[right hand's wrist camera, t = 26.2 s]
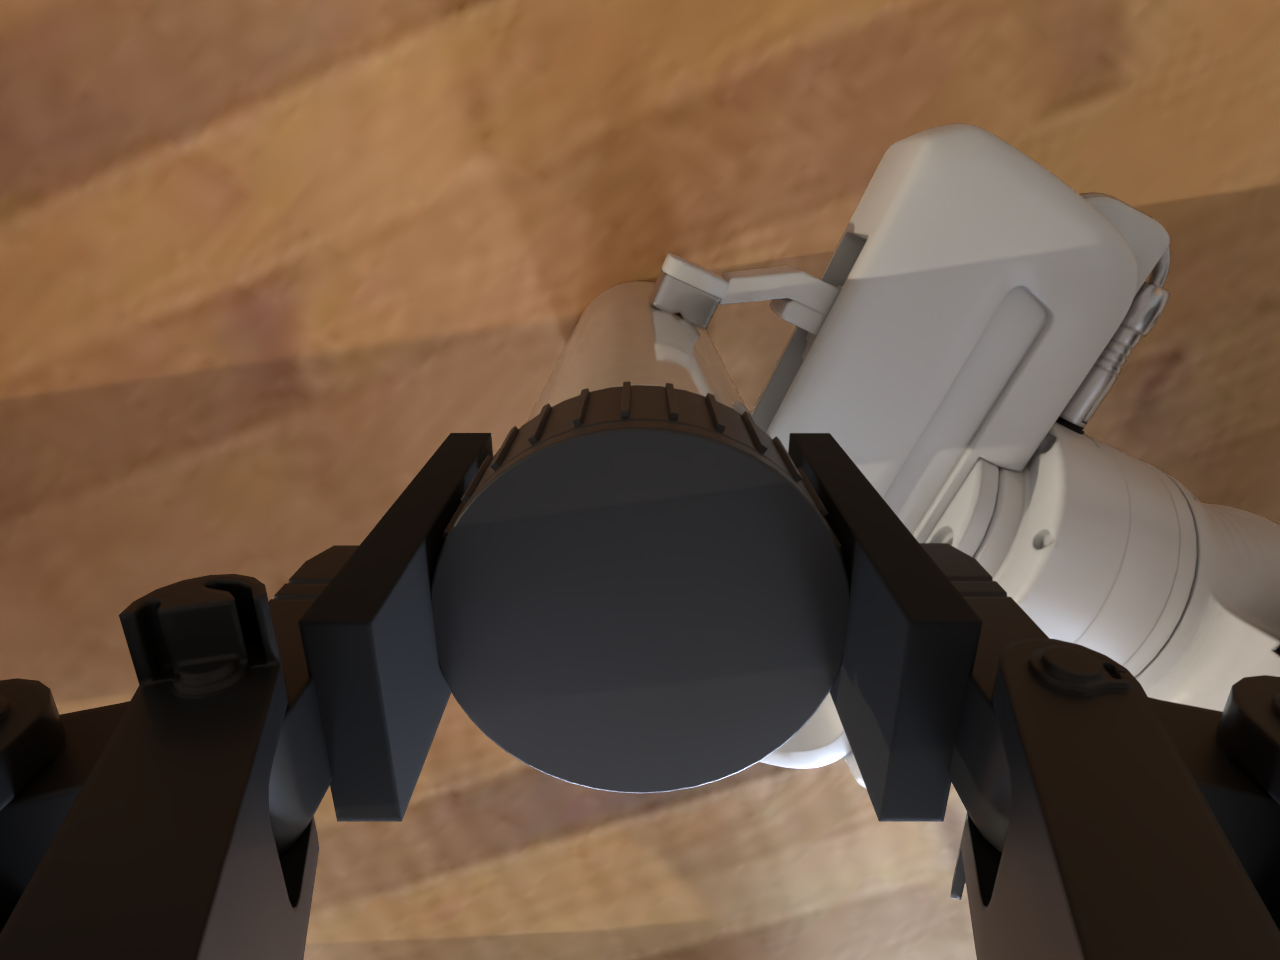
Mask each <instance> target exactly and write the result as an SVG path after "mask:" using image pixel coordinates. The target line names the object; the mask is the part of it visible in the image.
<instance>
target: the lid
mask: <svg viewBox="0 0 1280 960" xmlns="http://www.w3.org/2000/svg"><path fill="white" fill-rule="evenodd" d="M461 500H462V502H461V503H460V505H459V507H458V509H457V510H456V512H455V514H454V515H453V517H452V519H451V520H450V522H449V524H448V525H447V527H446V529H445V530H444V533H443V535H442V538H444V539H445V541H444V544H443V546H442V549H441V551H440V554H439V556H438V558H437V561H436V565H435V569H434V574H433V578H432V582H431V603H432V612H433V621H434V629H435V638H436V646H437V654H438V661H439V666H440V669H441V671H442V674H443V676H444V679H445V681H446V683H447V684H448V686H449V688H450V690H451V692H452V693H453V695H454V697H455V699H456V700H457V702H458V703H459V704H460V706H461V707H462V708H463V710H464V711H465V713H466V714H467V715H468V717H469V718H470V719H471V720H472V721H473V722H474V723H475V724H476V725H477V726H478V727H479V728H480V730H481V731H482V732H483V733H484V734H485V735H486V736H487V737H489V738H490V739H491V740H492V741H494V742H495V743H496V744H497V745H498V746H500V747H501V748H502V749H503V750H505V751H506V752H508V753H509V754H511V755H512V756H514V757H515V758H517V759H519V760H520V761H522V762H523V763H525V764H527V765H529V766H531V767H533V768H535V769H537V770H539V771H541V772H543V773H545V774H547V775H550V776H553V777H555V778H558V779H561V780H564V781H567V782H569V783H573V784H577V785H581V786H585V787H589V788H593V789H599V790H606V791H614V792H624V793H655V792H669V791H675V790H681V789H687V788H692V787H697V786H700V785H704V784H707V783H711V782H714V781H718V780H720V779H723V778H725V777H728V776H730V775H733V774H735V773H738V772H740V771H742V770H744V769H746V768H748V767H750V766H752V765H753V764H755V763H757V762H759V761H761V760H763V759H764V758H765V757H767V756H768V755H770V754H771V753H773V752H774V751H776V750H777V749H778V748H780V747H781V746H783V745H784V744H785V743H786V742H787V741H788V740H789V739H791V738H792V737H793V736H794V735H795V734H796V733H797V732H798V731H800V730H801V728H802V727H803V726H804V725H805V724H806V723H807V722H808V721H809V719H810V718H811V717H812V716H813V715H814V714H815V713H816V711H817V710H818V708H819V707H820V705H821V704H822V702H823V701H824V699H825V698H826V696H827V695H828V693H829V692H830V690H831V688H832V686H833V684H834V682H835V680H836V677H837V675H838V673H839V671H840V668H841V665H842V660H843V653H844V644H845V636H846V627H847V619H848V611H849V602H850V585H849V578H848V574H847V570H846V567H845V564H844V560H843V557H842V553H843V548H842V545H841V544H840V542H839V540H838V539H837V537H836V535H835V533H834V532H833V530H832V528H831V527H830V525H829V523H828V521H827V520H826V518H825V515H827V514H828V512H827V510H826V509H825V507H824V505H823V504H822V502H821V500H820V499H819V497H818V495H817V494H816V492H815V490H814V489H813V487H812V485H811V484H810V482H809V480H808V479H807V477H806V475H805V474H804V472H803V470H802V469H801V467H799V468H796V466H795V464H794V463H793V461H792V459H791V457H790V456H789V454H788V452H787V451H786V449H785V447H784V446H783V444H782V442H781V440H780V439H779V438H778V437H777V436H776V437H775V438H774V439H772V438H771V437H770V436H769V435H768V434H767V433H765V432H764V431H763V430H762V429H761V428H760V427H758V426H757V425H756V424H755V422H754V421H753V419H752V417H751V415H750V414H749V413H748V412H746V411H745V412H744V413H743V414H740V413H739V412H737V411H735V410H734V409H732V408H731V407H728V406H726V405H724V404H722V403H720V402H717V401H716V399H715V397H714V395H712V394H710V393H707V395H706V397H705V396H702V395H699V394H696V393H692V392H689V391H686V390H681V389H675V388H674V386H673V384H671V383H666V387H663V386H646V385H631V382H630V381H628V382H623V386H620V387H610V388H605V389H601V390H596V391H592V392H589V389H588V388H586V389H583V390H581V393H580V395H579V396H576V397H573V398H570V399H567V400H565V401H562V402H560V403H559V404H557V405H555V406H553V407H551V406H550V404H547V405H545V406H543V408H542V410H541V412H540V414H539V415H537V416H536V417H534V418H533V419H531V420H530V421H529V422H527V423H526V424H524V425H523V426H522V427H521V428H520V429H518V428H517V427H516V426H514V427H513V428H512V429H511V430H510V432H509V434H508V435H507V437H506V439H505V441H504V443H503V444H502V446H501V448H500V449H499V450H498V452H497V453H496V454H495V455H494V457H491V456H490V455H488V456H487V457H486V459H485V460H484V462H483V464H482V465H481V467H480V469H479V470H478V472H477V474H476V475H475V477H474V479H473V480H472V482H471V484H470V485H469V487H468V489H467V490H466V492H465V494H464V495H463V497H462V499H461Z"/></svg>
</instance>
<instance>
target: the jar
mask: <svg viewBox="0 0 1280 960" xmlns="http://www.w3.org/2000/svg"><path fill="white" fill-rule="evenodd" d="M654 285H655V283H654V282H648V281H632V282H626V283H622V284H619V285H616V286H613V287H611V288H609V289H607V290H606V291H604V292H602V293H601V294H600V295H598V296H597V297H596V298H595V299H594V300H593V301H592V302H591V303H590V304H589V305H588V306H587V307H586V309H585V310H584V312H583V313H582V315H581V317H580V318H579V320H578V322H577V324H576V326H575V328H574V330H573V332H572V334H571V336H570V338H569V340H568V342H567V344H566V346H565V348H564V350H563V351H562V353H561V355H560V357H559V359H558V361H557V363H556V365H555V367H554V369H553V371H552V373H551V375H550V377H549V379H548V381H547V383H546V385H545V387H544V389H543V390H542V392H541V394H540V396H539V398H538V400H537V402H536V404H535V406H534V408H533V410H532V412H531V414H530V416H529V418H528V420H527V422H529V421H530V420H531V419H533V418H534V417H536V416H537V415H539V414H540V412H541V410H542V408H543V406H545V405H547V404H550V406H551V407H553V406H555V405H557V404H559V403H560V402H562V401H565V400H567V399H570V398H573V397H576V396H579V395H580V393H581V390H583V389H586V388H588V389H589V392H592V391H596V390H601V389H605V388H610V387H620V386H623V382H628V381H630V382H631V385H646V386H663V387H666V383H671V384H673V386H674V388H675V389H681V390H686V391H689V392H692V393H696V394H699V395H702V396H705V397H706V395H707V393H710V394H712V395H714V397H715V399H716V401H717V402H720V403H722V404H724V405H726V406H728V407H731V408H732V409H734V410H735V411H737V412H739V413H740V414H743V413H744V412H745V411H746V412H748V413H749V411H748V410H747V408H746V406H745V404H744V402H743V400H742V398H741V396H740V394H739V392H738V390H737V388H736V386H735V384H734V382H733V380H732V378H731V377H730V375H729V373H728V371H727V369H726V367H725V365H724V363H723V361H722V359H721V357H720V355H719V353H718V351H717V349H716V347H715V345H714V343H713V342H712V340H711V338H710V336H709V334H708V332H707V330H704V329H702V328H700V327H698V326H695V325H693V324H691V323H689V322H688V321H686V320H684V319H683V317H682V315H681V313H680V312H679V313H673V314H671V313H668V312H665V311H662V310H660V309H658V308H656V307H654V306H653V305H651V304H650V303H649V297H650V294H651V292H652V290H653V287H654ZM749 414H750V413H749ZM527 422H526V423H527Z"/></svg>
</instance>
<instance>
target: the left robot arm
mask: <svg viewBox="0 0 1280 960" xmlns="http://www.w3.org/2000/svg"><path fill="white" fill-rule="evenodd" d="M1169 242H1170V238H1169V235H1168V233H1167V231H1166V230H1165V229H1164V227H1163V226H1162V225H1161V224H1160V223H1158V222H1157V221H1156V220H1154V219H1153V218H1152V217H1151V216H1149V215H1147V214H1145V213H1143V212H1142V211H1140V210H1138V209H1136V208H1134V207H1132V206H1130V205H1128V204H1126V203H1124V202H1123V201H1121V200H1119V199H1117V198H1115V197H1113V196H1110V195H1107V194H1104V193H1094V192H1092V193H1081V194H1078V193H1077V192H1076V191H1075V190H1073V189H1072V188H1071V187H1070V186H1068V185H1067V184H1066V183H1064V182H1063V181H1062V180H1060V179H1059V178H1058V177H1057V176H1055V175H1054V174H1053V173H1051V172H1050V171H1048V170H1047V169H1046V168H1044V167H1043V166H1041V165H1040V164H1039V163H1037V162H1036V161H1034V160H1033V159H1031V158H1030V157H1028V156H1027V155H1025V154H1024V153H1023V152H1021V151H1020V150H1018V149H1016V148H1015V147H1013V146H1012V145H1010V144H1008V143H1007V142H1005V141H1004V140H1002V139H1000V138H999V137H997V136H995V135H993V134H992V133H990V132H988V131H986V130H984V129H982V128H980V127H977V126H974V125H970V124H947V125H942V126H938V127H933V128H930V129H927V130H924V131H921V132H918V133H916V134H913V135H911V136H909V137H906V138H904V139H901V140H899V141H897V142H895V143H894V144H892V145H891V146H890V147H889V148H888V150H887V151H886V152H885V154H884V156H883V158H882V160H881V162H880V164H879V166H878V167H877V169H876V171H875V173H874V175H873V177H872V179H871V181H870V183H869V185H868V187H867V189H866V191H865V193H864V195H863V197H862V199H861V201H860V203H859V204H858V206H857V208H856V210H855V212H854V214H853V216H852V218H851V220H850V222H849V224H848V226H847V228H846V230H845V232H844V234H843V236H842V238H841V240H840V241H839V243H838V245H837V247H836V249H835V251H834V253H833V255H832V257H831V259H830V261H829V263H828V265H827V267H826V269H825V271H824V273H823V275H822V277H821V278H820V279H818V278H816V277H814V276H811V275H809V274H807V273H805V272H803V271H801V270H798V269H796V268H794V267H791V266H789V265H783V266H775V267H766V268H757V269H749V270H740V271H732V272H724V274H723V275H722V276H721V275H718V274H716V273H714V272H712V271H710V270H708V269H706V268H703V267H701V266H699V265H697V264H695V263H693V262H690V261H688V260H686V259H684V258H682V257H680V256H677V255H674V254H672V253H669V252H668V254H667V256H666V259H665V261H664V264H663V266H662V268H661V270H660V273H659V275H658V277H657V280H656V282H655V285H654V287H653V290H652V292H651V294H650V297H649V303H650V304H651V305H653V306H654V307H656V308H658V309H660V310H662V311H665V312H668V313H671V314H673V313H679V312H680V313H681V315H682V317H683V319H684V320H686V321H688V322H689V323H691V324H693V325H695V326H698V327H700V328H702V329H704V330H706V328H707V326H708V324H709V322H710V320H711V318H712V316H713V314H714V312H715V310H716V308H717V306H718V304H720V305H722V304H732V303H742V302H752V301H763V300H771V302H770V308H771V310H772V311H774V312H775V313H776V314H777V315H779V316H780V317H781V318H782V319H784V320H786V321H788V322H790V323H792V324H794V325H796V327H795V329H794V331H793V333H792V335H791V337H790V339H789V341H788V343H787V345H786V347H785V349H784V350H783V352H782V354H781V356H780V358H779V360H778V362H777V364H776V366H775V368H774V370H773V372H772V374H771V376H770V378H769V380H768V382H767V384H766V386H765V387H764V389H763V391H762V393H761V395H760V397H759V399H758V401H757V403H756V405H755V407H754V409H753V411H752V413H751V417H752V419H753V421H754V422H755V424H756V425H757V426H758V427H760V428H761V429H762V430H763V431H764V432H765V433H767V434H768V435H769V436H770V437H771V438H772V439H774V438H775V437H776V436H777V437H778V438H779V439H780V440H781V442H782V444H783V446H784V447H785V449H786V451H787V452H788V449H789V436H790V433H830V434H831V435H832V436H833V438H834V439H835V440H836V441H837V442H838V444H839V445H840V446H841V447H842V449H843V450H844V451H845V452H846V454H847V455H848V456H849V457H850V459H851V460H852V461H853V462H854V463H855V465H856V466H857V467H858V468H859V470H860V471H861V472H862V473H863V475H864V476H865V477H866V478H867V479H868V481H869V482H870V483H871V484H872V486H873V487H874V488H875V489H876V491H877V492H878V493H879V494H880V496H881V497H882V498H883V499H884V500H885V502H886V503H887V504H888V505H889V507H890V508H891V509H892V510H893V512H894V513H895V514H896V515H897V516H898V518H899V519H900V520H901V521H902V523H903V524H904V525H905V526H906V528H907V529H908V530H909V531H910V532H911V534H912V535H913V536H914V537H915V539H916V540H917V541H918V542H919V543H948V544H949V545H951V546H953V547H955V548H957V549H958V550H960V551H962V552H964V553H966V554H967V555H969V556H971V557H973V558H975V559H976V560H977V561H978V562H979V563H980V564H981V565H982V567H983V568H984V569H985V570H986V571H987V572H988V573H989V574H990V575H991V576H992V577H993V581H996V582H997V583H998V584H999V585H1000V586H1001V587H1002V588H1003V589H1004V590H1005V591H1006V592H1007V597H1011V598H1012V599H1013V600H1014V601H1015V602H1016V603H1017V604H1018V605H1019V606H1020V607H1021V608H1022V609H1023V611H1024V612H1025V613H1026V614H1027V615H1028V616H1029V617H1030V618H1031V619H1032V620H1033V621H1034V622H1035V623H1036V624H1037V626H1038V627H1039V628H1040V629H1041V630H1042V631H1043V632H1044V633H1045V634H1046V635H1047V636H1048V637H1049V638H1050V639H1057V640H1061V641H1065V642H1070V643H1074V644H1078V645H1082V646H1084V647H1087V648H1089V649H1092V650H1094V651H1096V652H1099V653H1101V654H1104V655H1106V656H1108V657H1109V658H1111V659H1112V660H1114V661H1116V662H1117V663H1119V664H1120V665H1122V666H1123V667H1125V668H1126V669H1128V670H1129V672H1130V673H1131V674H1132V675H1133V676H1134V677H1135V678H1136V679H1137V681H1138V682H1139V683H1140V684H1141V686H1142V687H1143V689H1144V691H1145V693H1146V695H1147V696H1148V697H1150V698H1154V699H1158V700H1163V701H1169V702H1174V703H1179V704H1185V705H1190V706H1195V707H1200V708H1206V709H1211V710H1216V711H1222V712H1223V710H1224V708H1225V705H1226V702H1227V699H1228V696H1229V693H1230V691H1231V688H1232V685H1234V684H1235V683H1237V682H1238V681H1239V680H1241V679H1242V678H1244V677H1253V676H1262V675H1268V676H1276V677H1280V525H1279V524H1276V523H1274V522H1272V521H1270V520H1268V519H1266V518H1264V517H1261V516H1259V515H1256V514H1254V513H1251V512H1249V511H1245V510H1242V509H1238V508H1234V507H1230V506H1224V505H1217V504H1207V503H1202V502H1200V501H1199V500H1198V499H1197V498H1196V497H1195V496H1194V494H1192V493H1191V492H1190V491H1189V490H1188V489H1187V488H1186V487H1185V486H1183V485H1182V484H1181V483H1180V482H1179V481H1178V480H1177V479H1175V478H1173V477H1172V476H1170V475H1169V474H1167V473H1165V472H1164V471H1162V470H1161V469H1159V468H1157V467H1155V466H1152V465H1150V464H1148V463H1146V462H1144V461H1142V460H1140V459H1138V458H1135V457H1133V456H1131V455H1129V454H1127V453H1125V452H1123V451H1121V450H1118V449H1116V448H1114V447H1112V446H1110V445H1108V444H1106V443H1103V442H1101V441H1099V440H1097V439H1095V438H1092V437H1090V436H1088V435H1086V434H1084V431H1082V430H1083V428H1084V427H1085V426H1086V424H1087V423H1088V421H1089V420H1090V418H1091V417H1092V415H1093V414H1094V413H1095V411H1096V410H1097V408H1098V407H1099V405H1100V404H1101V402H1102V401H1103V399H1104V398H1105V397H1106V395H1107V394H1108V392H1109V391H1110V389H1111V388H1112V386H1113V384H1114V383H1115V381H1116V379H1117V378H1118V377H1117V375H1119V374H1120V372H1121V370H1122V368H1121V367H1122V366H1123V365H1124V364H1125V362H1126V361H1127V360H1126V358H1127V357H1129V355H1130V354H1131V352H1132V349H1134V348H1135V347H1136V345H1137V344H1138V342H1139V341H1140V339H1141V338H1142V337H1143V336H1144V337H1145V336H1146V335H1147V334H1148V333H1149V332H1150V331H1151V329H1152V328H1153V327H1154V325H1155V324H1156V323H1157V321H1158V320H1159V318H1160V316H1161V315H1162V313H1163V311H1164V309H1165V307H1166V305H1167V303H1168V300H1169V297H1170V293H1169V292H1168V291H1167V290H1165V289H1163V286H1164V283H1165V281H1166V278H1167V276H1168V272H1169V267H1170V257H1171V252H1170V245H1169ZM1151 271H1152V272H1151ZM1150 273H1151V275H1150V278H1149V281H1148V283H1147V282H1145V280H1146V279H1147V277H1148V276H1149V274H1150ZM842 757H844V759H845V761H846V763H847V765H848V767H849V768H850V770H851V772H852V774H853V776H854V778H855V779H856V781H857V782H858V783H859V784H860V785H861V786H863V787H864V788H866V786H865V783H864V781H863V778H862V775H861V773H860V770H859V768H858V765H857V762H856V760H855V757H854V755H853V752H852V749H851V747H850V744H849V741H848V739H847V736H846V734H845V731H844V728H843V726H842V723H841V721H840V718H839V715H838V713H837V710H836V708H835V705H834V702H833V700H832V697H831V695H830V692H829V693H828V695H827V696H826V698H825V699H824V701H823V702H822V704H821V705H820V707H819V708H818V710H817V711H816V713H815V714H814V715H813V716H812V717H811V718H810V719H809V721H808V722H807V723H806V724H805V725H804V726H803V727H802V728H801V730H800V731H798V732H797V733H796V734H795V735H794V736H793V737H792V738H791V739H789V740H788V741H787V742H786V743H785V744H784V745H783V746H781V747H780V748H778V749H777V750H776V751H774V752H773V753H771V754H770V755H768V756H767V757H765V758H764V759H763V760H761V761H759V762H762V763H766V764H771V765H775V766H780V767H786V768H797V769H808V768H817V767H821V766H825V765H828V764H831V763H833V762H835V761H837V760H839V759H841V758H842ZM866 789H867V788H866Z"/></svg>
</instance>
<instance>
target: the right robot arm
mask: <svg viewBox="0 0 1280 960" xmlns="http://www.w3.org/2000/svg"><path fill="white" fill-rule="evenodd" d="M788 454H789V456H790V457H791V459H792V461H793V463H794V464H795V466H796V468H799V467H801V469H802V470H803V472H804V474H805V475H806V477H807V479H808V480H809V482H810V484H811V485H812V487H813V489H814V490H815V492H816V494H817V495H818V497H819V499H820V500H821V502H822V504H823V505H824V507H825V509H826V510H827V512H828V514H827V515H825V518H826V520H827V521H828V523H829V525H830V527H831V528H832V530H833V532H834V533H835V535H836V537H837V539H838V540H839V542H840V544H841V545H842V548H843V553H842V557H843V560H844V564H845V567H846V570H847V574H848V578H849V585H850V602H849V611H848V619H847V627H846V636H845V644H844V653H843V660H842V665H841V668H840V671H839V673H838V675H837V677H836V680H835V682H834V684H833V686H832V688H831V690H830V695H831V697H832V700H833V702H834V705H835V708H836V710H837V713H838V715H839V718H840V721H841V723H842V726H843V728H844V731H845V734H846V736H847V739H848V741H849V744H850V747H851V749H852V752H853V755H854V757H855V760H856V762H857V765H858V768H859V770H860V773H861V775H862V778H863V781H864V783H865V786H866V788H867V791H868V794H869V796H870V799H871V801H872V804H873V807H874V809H875V812H876V815H877V817H878V820H879V821H944V816H945V811H946V806H947V801H948V796H949V791H950V786H951V782H952V784H953V786H954V787H955V789H956V791H957V793H958V795H959V797H960V799H961V800H962V802H963V804H964V806H965V808H966V810H967V816H966V820H965V825H964V830H963V835H962V839H961V844H960V849H959V854H958V858H957V863H956V868H955V873H954V877H953V883H952V890H951V898H956V899H960V900H961V897H962V893H963V888H964V884H965V883H966V886H967V893H968V900H969V907H970V914H971V921H972V928H973V935H974V942H975V949H976V956H977V960H1280V677H1276V676H1268V675H1262V676H1253V677H1244V678H1242V679H1241V680H1239V681H1238V682H1237V683H1235V684H1234V685H1232V688H1231V691H1230V693H1229V696H1228V699H1227V702H1226V705H1225V708H1224V710H1223V712H1222V711H1216V710H1211V709H1206V708H1200V707H1195V706H1190V705H1185V704H1179V703H1174V702H1169V701H1163V700H1158V699H1154V698H1150V697H1148V696H1147V695H1146V693H1145V691H1144V689H1143V687H1142V686H1141V684H1140V683H1139V682H1138V681H1137V679H1136V678H1135V677H1134V676H1133V675H1132V674H1131V673H1130V672H1129V670H1128V669H1126V668H1125V667H1123V666H1122V665H1120V664H1119V663H1117V662H1116V661H1114V660H1112V659H1111V658H1109V657H1108V656H1106V655H1104V654H1101V653H1099V652H1096V651H1094V650H1092V649H1089V648H1087V647H1084V646H1082V645H1078V644H1074V643H1070V642H1065V641H1061V640H1057V639H1050V638H1049V637H1048V636H1047V635H1046V634H1045V633H1044V632H1043V631H1042V630H1041V629H1040V628H1039V627H1038V626H1037V624H1036V623H1035V622H1034V621H1033V620H1032V619H1031V618H1030V617H1029V616H1028V615H1027V614H1026V613H1025V612H1024V611H1023V609H1022V608H1021V607H1020V606H1019V605H1018V604H1017V603H1016V602H1015V601H1014V600H1013V599H1012V598H1011V597H1007V592H1006V591H1005V590H1004V589H1003V588H1002V587H1001V586H1000V585H999V584H998V583H997V582H996V581H993V577H992V576H991V575H990V574H989V573H988V572H987V571H986V570H985V569H984V568H983V567H982V565H981V564H980V563H979V562H978V561H977V560H976V559H975V558H973V557H971V556H969V555H967V554H966V553H964V552H962V551H960V550H958V549H957V548H955V547H953V546H951V545H949V544H948V543H919V542H918V541H917V540H916V539H915V537H914V536H913V535H912V534H911V532H910V531H909V530H908V529H907V528H906V526H905V525H904V524H903V523H902V521H901V520H900V519H899V518H898V516H897V515H896V514H895V513H894V512H893V510H892V509H891V508H890V507H889V505H888V504H887V503H886V502H885V500H884V499H883V498H882V497H881V496H880V494H879V493H878V492H877V491H876V489H875V488H874V487H873V486H872V484H871V483H870V482H869V481H868V479H867V478H866V477H865V476H864V475H863V473H862V472H861V471H860V470H859V468H858V467H857V466H856V465H855V463H854V462H853V461H852V460H851V459H850V457H849V456H848V455H847V454H846V452H845V451H844V450H843V449H842V447H841V446H840V445H839V444H838V442H837V441H836V440H835V439H834V438H833V436H832V435H831V434H830V433H790V436H789V449H788ZM488 455H490V456H491V457H493V452H492V439H491V433H451V434H450V435H449V436H448V437H447V439H446V440H445V441H444V442H443V443H442V445H441V446H440V447H439V448H438V450H437V451H436V452H435V453H434V455H433V456H432V457H431V458H430V459H429V461H428V462H427V463H426V464H425V466H424V467H423V468H422V469H421V471H420V472H419V473H418V474H417V476H416V477H415V478H414V479H413V480H412V482H411V483H410V484H409V485H408V487H407V488H406V489H405V490H404V492H403V493H402V494H401V495H400V496H399V498H398V499H397V500H396V501H395V503H394V504H393V505H392V506H391V508H390V509H389V510H388V511H387V513H386V514H385V515H384V516H383V517H382V519H381V520H380V521H379V522H378V524H377V525H376V526H375V527H374V529H373V530H372V531H371V532H370V534H369V535H368V536H367V537H366V538H365V540H364V541H363V542H362V543H361V545H360V546H333V547H331V548H329V549H327V550H325V551H324V552H322V553H320V554H318V555H316V556H315V557H313V558H311V559H309V560H308V561H306V562H305V563H304V564H303V565H302V566H301V567H300V568H299V569H298V571H297V572H296V573H295V574H294V575H293V576H292V577H291V578H290V579H289V584H285V585H284V586H283V587H282V588H281V589H280V590H279V591H278V592H277V593H276V594H275V598H274V599H271V600H270V601H269V602H268V597H267V593H266V588H265V585H264V584H263V583H261V582H260V581H258V580H257V579H255V578H254V577H248V576H243V575H237V574H225V575H208V576H203V577H198V578H193V579H188V580H183V581H180V582H177V583H174V584H171V585H168V586H165V587H162V588H160V589H157V590H155V591H153V592H151V593H149V594H147V595H145V596H143V597H141V598H140V599H138V600H136V601H134V602H133V603H132V604H131V605H129V606H128V607H127V608H126V609H125V610H124V611H123V612H122V613H121V614H120V615H119V617H120V620H121V624H122V627H123V631H124V634H125V637H126V641H127V644H128V647H129V651H130V654H131V657H132V661H133V664H134V668H135V671H136V674H137V678H138V681H139V684H140V685H139V687H138V689H137V691H136V692H135V694H134V696H133V698H132V700H131V701H128V702H124V703H120V704H114V705H109V706H104V707H98V708H93V709H88V710H83V711H77V712H72V713H67V714H61V715H59V713H58V710H57V707H56V704H55V702H54V699H53V696H52V693H51V690H50V689H49V688H48V687H47V686H45V685H44V684H42V683H41V682H39V681H35V680H26V679H10V680H2V681H0V960H303V958H304V951H305V944H306V937H307V930H308V923H309V916H310V909H311V902H312V895H313V888H314V881H315V874H316V867H317V860H318V853H319V843H318V836H317V830H316V825H315V820H314V816H313V815H314V813H315V812H316V810H317V808H318V806H319V804H320V802H321V800H322V798H323V797H324V795H325V793H326V791H327V789H328V787H329V785H330V786H331V792H332V797H333V802H334V807H335V812H336V817H337V821H402V819H403V817H404V814H405V811H406V809H407V806H408V803H409V801H410V798H411V796H412V793H413V790H414V788H415V785H416V783H417V780H418V777H419V775H420V772H421V770H422V767H423V764H424V762H425V759H426V757H427V754H428V751H429V749H430V746H431V743H432V741H433V738H434V736H435V733H436V730H437V728H438V725H439V723H440V720H441V717H442V715H443V712H444V710H445V707H446V704H447V702H448V699H449V696H450V694H451V690H450V688H449V686H448V684H447V683H446V681H445V679H444V676H443V674H442V671H441V669H440V666H439V661H438V654H437V646H436V638H435V629H434V621H433V612H432V603H431V582H432V578H433V574H434V569H435V565H436V561H437V558H438V556H439V554H440V551H441V549H442V546H443V544H444V541H445V539H444V538H442V535H443V533H444V530H445V529H446V527H447V525H448V524H449V522H450V520H451V519H452V517H453V515H454V514H455V512H456V510H457V509H458V507H459V505H460V503H461V502H462V500H461V499H462V497H463V495H464V494H465V492H466V490H467V489H468V487H469V485H470V484H471V482H472V480H473V479H474V477H475V475H476V474H477V472H478V470H479V469H480V467H481V465H482V464H483V462H484V460H485V459H486V457H487V456H488Z"/></svg>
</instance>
